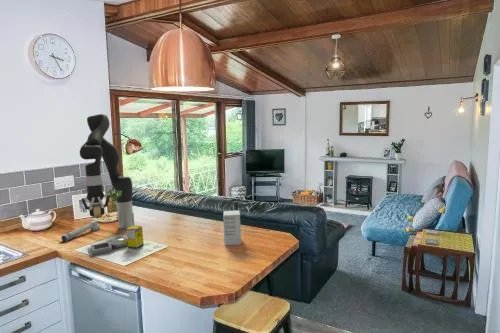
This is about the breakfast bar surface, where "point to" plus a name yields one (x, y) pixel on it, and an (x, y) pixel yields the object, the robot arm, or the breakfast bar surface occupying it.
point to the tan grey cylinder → (97, 210)
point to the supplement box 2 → (232, 227)
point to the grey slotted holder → (107, 247)
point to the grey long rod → (81, 230)
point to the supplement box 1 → (135, 236)
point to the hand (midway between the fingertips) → (97, 215)
